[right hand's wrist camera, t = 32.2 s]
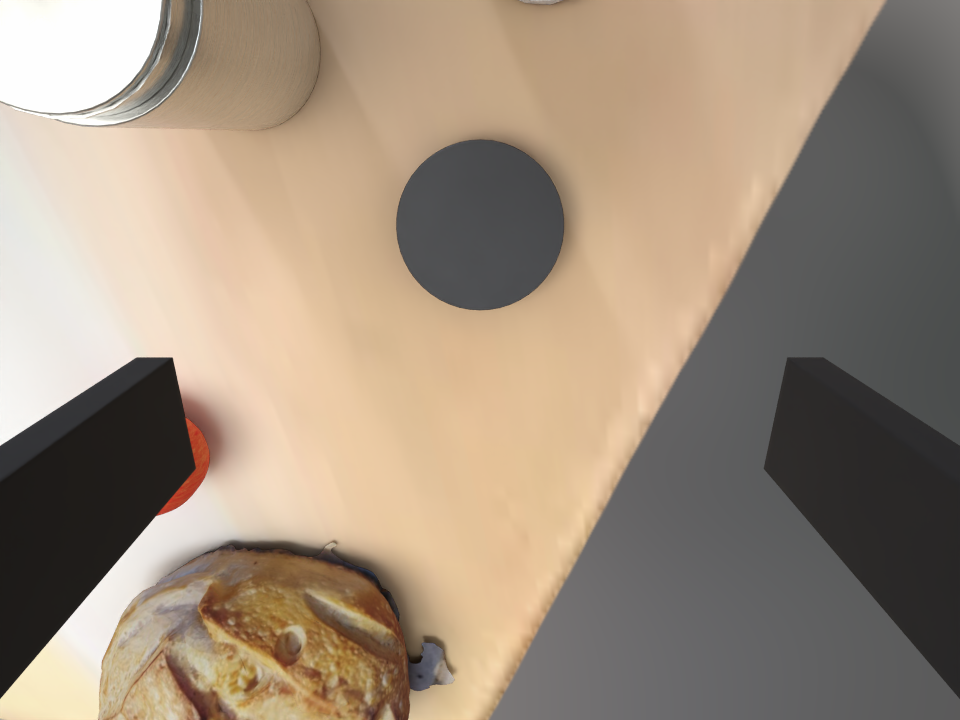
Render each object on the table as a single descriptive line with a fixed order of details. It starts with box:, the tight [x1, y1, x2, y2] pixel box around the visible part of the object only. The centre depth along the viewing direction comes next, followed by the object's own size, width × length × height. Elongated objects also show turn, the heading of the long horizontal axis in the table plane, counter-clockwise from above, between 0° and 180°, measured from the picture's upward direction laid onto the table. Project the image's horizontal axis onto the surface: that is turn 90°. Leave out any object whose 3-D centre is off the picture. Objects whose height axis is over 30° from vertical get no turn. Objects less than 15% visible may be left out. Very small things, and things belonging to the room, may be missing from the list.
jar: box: [0, 0, 320, 130], centre depth 27 cm, size 10×10×18 cm
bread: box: [98, 542, 455, 720], centre depth 47 cm, size 25×27×15 cm
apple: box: [156, 417, 210, 516], centre depth 41 cm, size 8×8×8 cm
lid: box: [396, 140, 564, 310], centre depth 38 cm, size 11×11×2 cm
